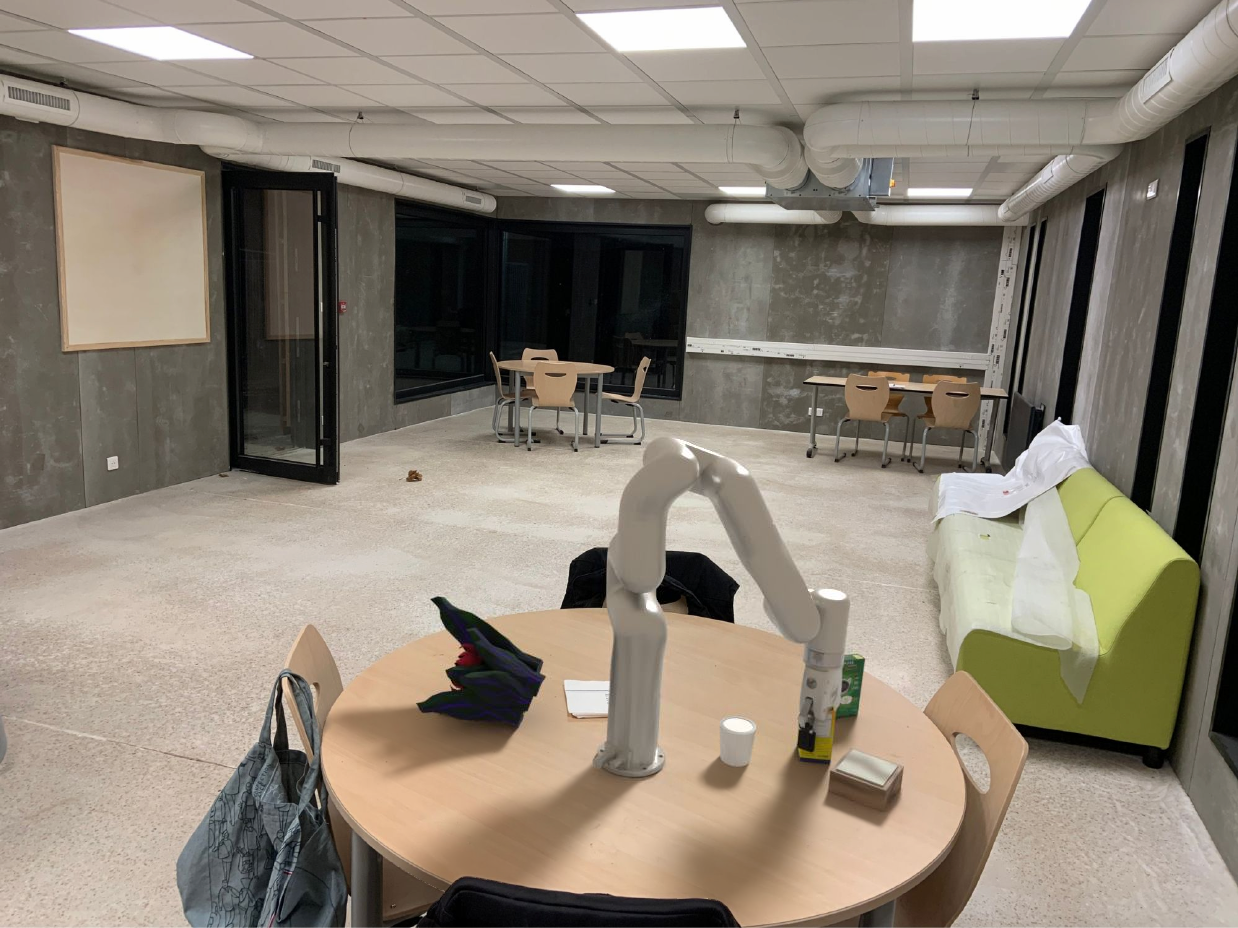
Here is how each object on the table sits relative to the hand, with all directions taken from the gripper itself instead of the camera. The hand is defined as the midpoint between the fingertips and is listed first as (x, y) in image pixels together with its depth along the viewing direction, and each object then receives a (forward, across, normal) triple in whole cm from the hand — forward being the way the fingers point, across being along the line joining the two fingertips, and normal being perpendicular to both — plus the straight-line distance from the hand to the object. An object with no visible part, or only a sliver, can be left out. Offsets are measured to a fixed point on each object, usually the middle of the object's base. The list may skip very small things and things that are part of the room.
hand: (814, 740), depth 169 cm
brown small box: (+3, -5, -12) cm, 13 cm away
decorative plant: (+3, -30, +61) cm, 68 cm away
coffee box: (+3, +19, +2) cm, 19 cm away
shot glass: (+3, -11, +11) cm, 16 cm away
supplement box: (+3, 0, 0) cm, 3 cm away
